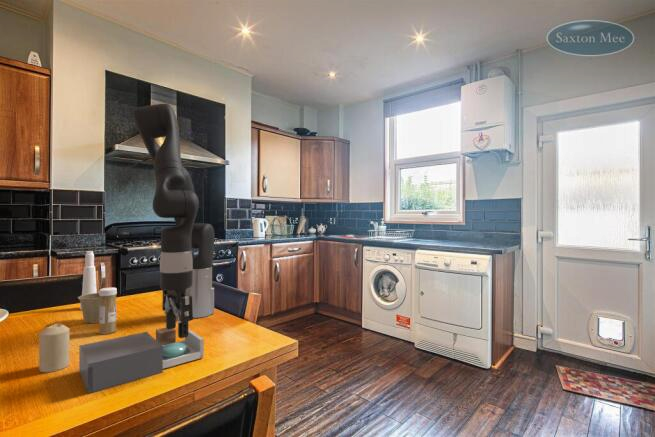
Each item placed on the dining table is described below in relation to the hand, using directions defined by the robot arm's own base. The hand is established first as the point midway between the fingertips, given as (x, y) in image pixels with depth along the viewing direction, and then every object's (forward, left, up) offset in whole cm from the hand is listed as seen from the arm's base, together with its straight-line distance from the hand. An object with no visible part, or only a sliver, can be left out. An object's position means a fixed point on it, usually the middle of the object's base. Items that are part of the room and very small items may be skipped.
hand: (176, 332), depth 85 cm
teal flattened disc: (+1, 0, -5) cm, 5 cm away
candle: (+23, -13, -7) cm, 27 cm away
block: (-1, -11, -6) cm, 13 cm away
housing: (+12, 0, -6) cm, 14 cm away
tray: (+2, 0, -6) cm, 7 cm away
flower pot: (+10, -49, -7) cm, 51 cm away
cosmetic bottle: (+9, -69, -7) cm, 70 cm away
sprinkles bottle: (+9, -33, -7) cm, 35 cm away
